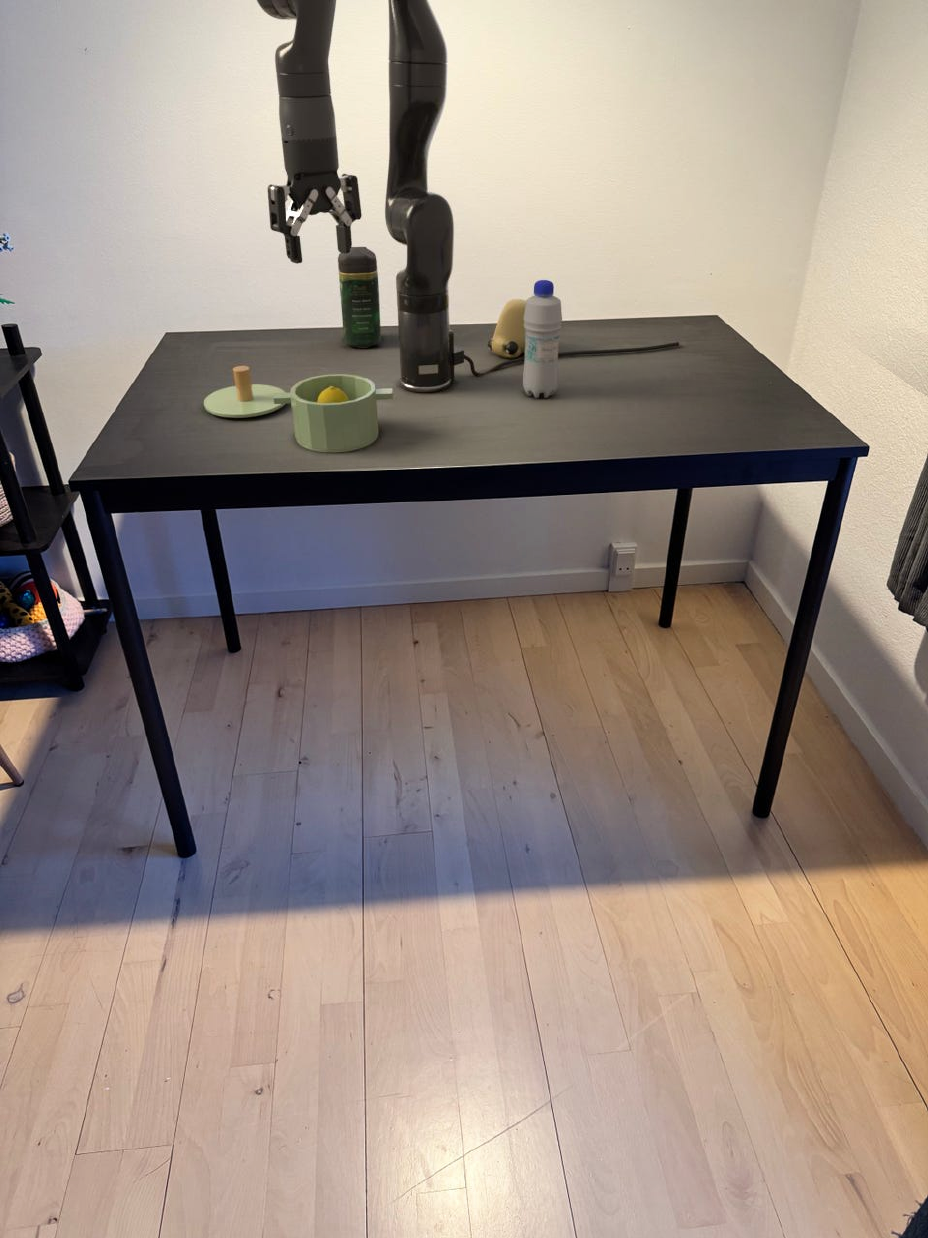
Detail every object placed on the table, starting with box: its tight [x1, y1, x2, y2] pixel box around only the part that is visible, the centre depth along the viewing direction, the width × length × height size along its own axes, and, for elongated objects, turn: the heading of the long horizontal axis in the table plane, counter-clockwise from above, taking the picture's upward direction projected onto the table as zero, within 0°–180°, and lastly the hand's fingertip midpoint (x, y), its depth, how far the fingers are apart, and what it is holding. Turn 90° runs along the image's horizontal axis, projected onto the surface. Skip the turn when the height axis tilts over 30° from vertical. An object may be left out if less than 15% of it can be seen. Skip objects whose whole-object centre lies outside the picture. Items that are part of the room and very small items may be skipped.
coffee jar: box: [337, 246, 382, 349], centre depth 182 cm, size 10×8×19 cm
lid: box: [203, 365, 286, 419], centre depth 157 cm, size 15×15×7 cm
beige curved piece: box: [487, 298, 527, 359], centre depth 178 cm, size 10×12×11 cm
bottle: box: [522, 279, 563, 399], centre depth 156 cm, size 7×7×20 cm
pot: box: [274, 373, 394, 454], centre depth 145 cm, size 14×19×8 cm
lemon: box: [317, 386, 349, 403], centre depth 145 cm, size 6×6×8 cm
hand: (320, 257), depth 131 cm, fingers open, 8 cm apart
